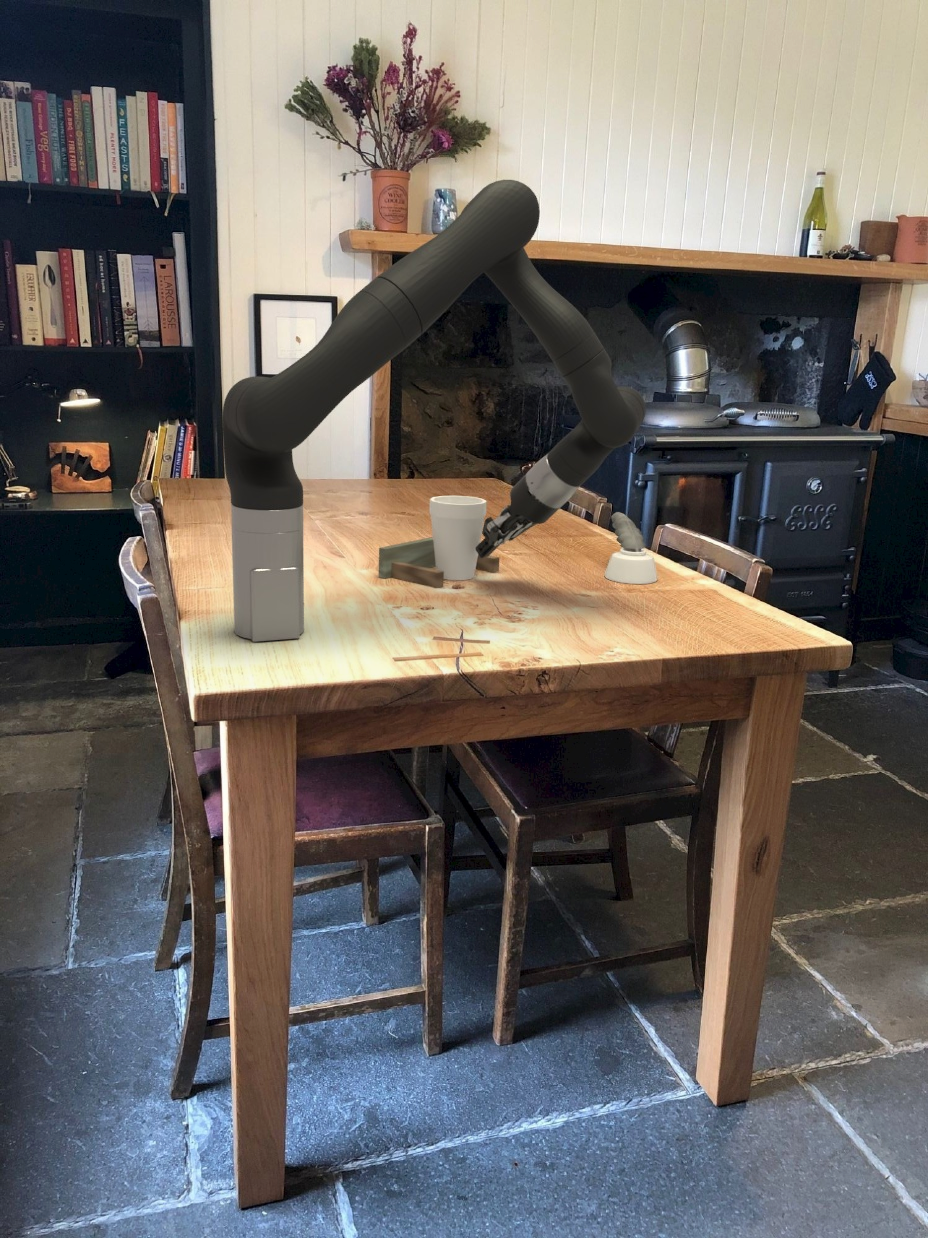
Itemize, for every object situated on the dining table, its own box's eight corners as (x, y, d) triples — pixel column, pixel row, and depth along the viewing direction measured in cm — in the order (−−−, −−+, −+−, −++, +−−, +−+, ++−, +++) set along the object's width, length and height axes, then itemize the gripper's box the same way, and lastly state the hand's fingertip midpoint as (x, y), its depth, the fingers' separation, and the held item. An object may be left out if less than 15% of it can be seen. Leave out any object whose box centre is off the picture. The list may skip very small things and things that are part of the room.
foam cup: (452, 567, 173) (454, 493, 170) (493, 576, 168) (497, 500, 164) (416, 575, 166) (418, 499, 162) (459, 585, 161) (462, 506, 157)
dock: (503, 570, 173) (505, 542, 171) (431, 589, 157) (432, 559, 156) (452, 559, 179) (453, 532, 178) (378, 577, 164) (379, 547, 163)
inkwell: (614, 585, 165) (619, 526, 162) (581, 561, 182) (584, 508, 179) (666, 584, 167) (671, 526, 164) (628, 561, 184) (632, 508, 181)
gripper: (556, 465, 158) (492, 530, 168) (508, 472, 148) (443, 540, 158) (582, 502, 156) (516, 565, 167) (535, 511, 146) (468, 577, 157)
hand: (480, 553), depth 162 cm, fingers closed
